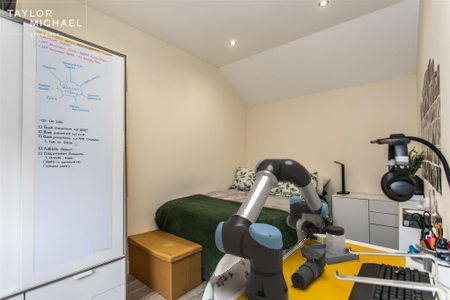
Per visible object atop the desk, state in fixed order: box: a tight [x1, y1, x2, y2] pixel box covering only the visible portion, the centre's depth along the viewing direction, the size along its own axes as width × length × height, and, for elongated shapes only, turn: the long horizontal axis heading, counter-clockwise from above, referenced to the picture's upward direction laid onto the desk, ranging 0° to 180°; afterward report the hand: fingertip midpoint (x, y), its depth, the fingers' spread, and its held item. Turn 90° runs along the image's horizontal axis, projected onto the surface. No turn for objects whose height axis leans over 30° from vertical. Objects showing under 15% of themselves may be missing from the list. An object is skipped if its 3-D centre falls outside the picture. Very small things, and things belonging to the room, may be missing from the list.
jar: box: [325, 225, 347, 255], centre depth 118 cm, size 9×8×12 cm
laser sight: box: [290, 245, 327, 290], centre depth 95 cm, size 10×22×10 cm, turn 138°
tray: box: [305, 242, 360, 266], centre depth 116 cm, size 18×16×3 cm
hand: (334, 239), depth 114 cm, fingers open, 13 cm apart
